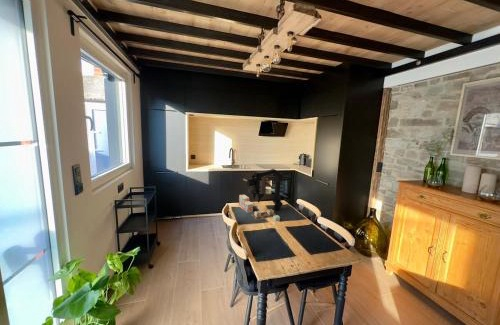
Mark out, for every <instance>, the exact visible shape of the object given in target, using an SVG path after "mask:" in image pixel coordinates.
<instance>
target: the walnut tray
mask: <svg viewBox="0 0 500 325" xmlns="http://www.w3.org/2000/svg"><path fill="white" fill-rule="evenodd" d="M275 215H277V213H275V212H274V214H271V215H269V214H268V213H267V211H263V212H262V211H261V216H259V217H256V216H255V215H254V213H251V217H253V218H254V219H255V220H256V221H257V220H262V219H263V220H265V219H268V218H273V216H275Z"/></svg>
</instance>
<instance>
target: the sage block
mask: <svg viewBox="0 0 500 325" xmlns="http://www.w3.org/2000/svg"><path fill="white" fill-rule="evenodd" d="M272 220H273V221H275V222H280V221H281V217H280V215H278V214H276V215H275V216H273V217H272Z"/></svg>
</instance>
